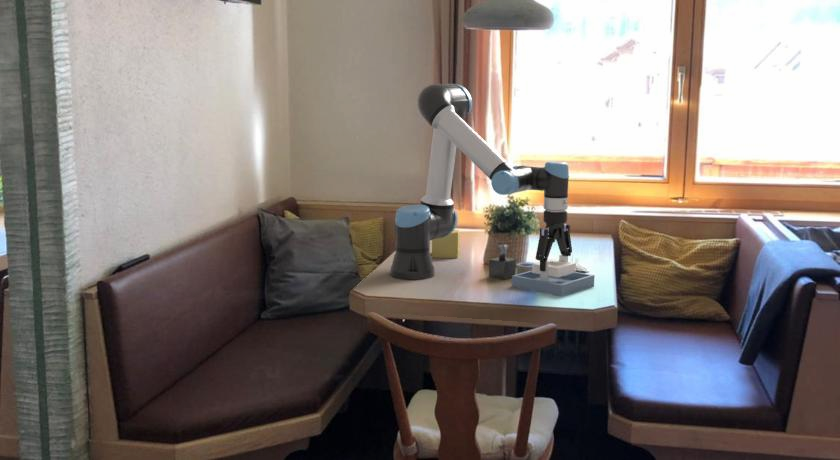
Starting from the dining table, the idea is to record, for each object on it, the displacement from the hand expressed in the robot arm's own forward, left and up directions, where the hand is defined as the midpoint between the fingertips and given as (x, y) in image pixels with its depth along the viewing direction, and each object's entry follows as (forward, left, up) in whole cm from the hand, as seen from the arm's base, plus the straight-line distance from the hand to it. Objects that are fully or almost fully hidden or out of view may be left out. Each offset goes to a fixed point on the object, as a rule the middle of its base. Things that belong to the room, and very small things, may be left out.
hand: (553, 278), depth 280 cm
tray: (0, 0, -3) cm, 3 cm away
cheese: (+12, +57, -3) cm, 58 cm away
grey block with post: (-1, +20, -3) cm, 20 cm away
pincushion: (+23, +8, -3) cm, 24 cm away
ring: (0, 0, +2) cm, 2 cm away
